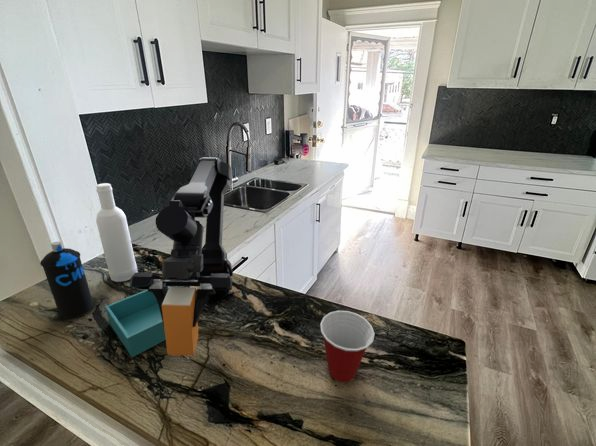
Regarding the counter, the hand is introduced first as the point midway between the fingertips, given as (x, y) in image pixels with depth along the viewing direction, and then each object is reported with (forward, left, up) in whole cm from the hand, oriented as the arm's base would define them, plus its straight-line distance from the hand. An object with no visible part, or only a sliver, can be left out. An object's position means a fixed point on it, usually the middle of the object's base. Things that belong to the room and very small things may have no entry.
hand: (179, 327), depth 60 cm
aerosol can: (+11, -41, -13) cm, 44 cm away
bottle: (-4, -50, -13) cm, 52 cm away
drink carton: (-1, -2, -6) cm, 7 cm away
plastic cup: (-24, +22, -13) cm, 35 cm away
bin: (-1, -21, -13) cm, 25 cm away
